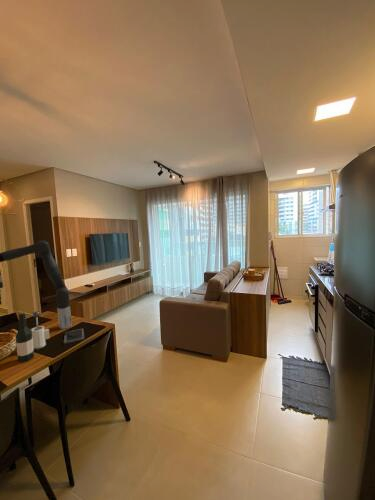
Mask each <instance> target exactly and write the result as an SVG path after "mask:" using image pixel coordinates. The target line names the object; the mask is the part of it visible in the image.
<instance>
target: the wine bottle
mask: <svg viewBox="0 0 375 500" xmlns="http://www.w3.org/2000/svg"><path fill="white" fill-rule="evenodd" d="M26 318H27V317H26V313H25V312H19V313H18V325H19V329H18V331H17V333H16V335H15V343H16V350H17V352H16V354H17V362H18V363H26V362H29V361H31V360H32V359H34V358H35V349H34V348H33V338H32V331H31V330H32V329H30V328H29V327H28V326H27V319H26Z"/></svg>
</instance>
